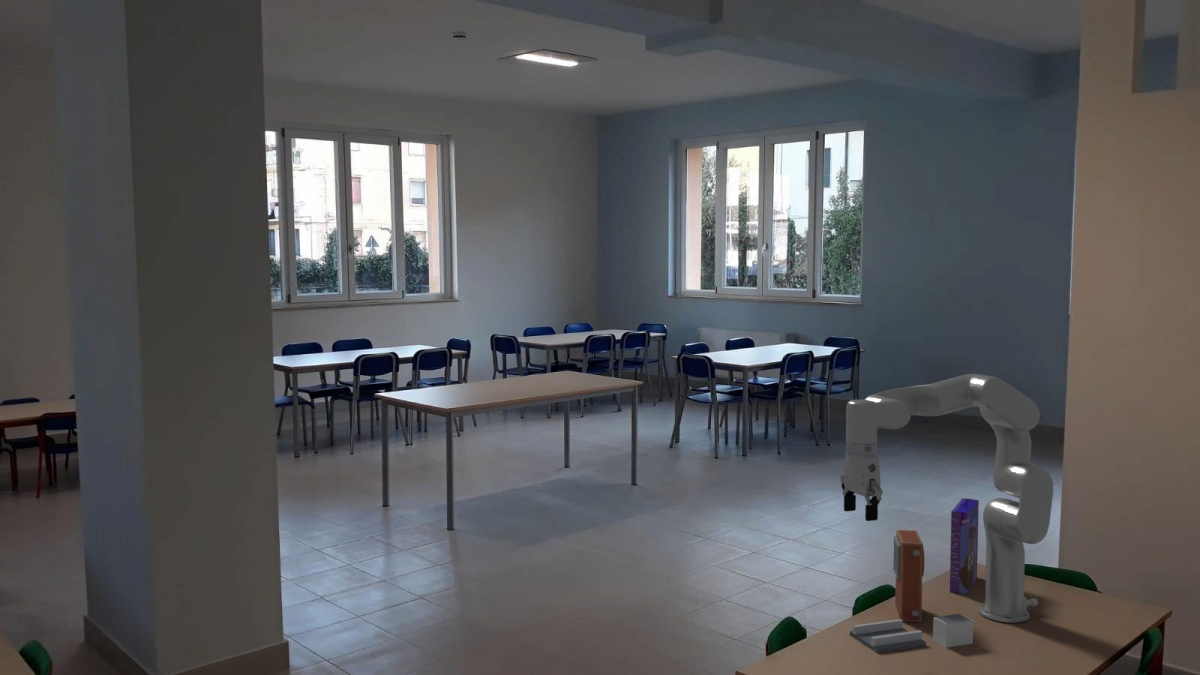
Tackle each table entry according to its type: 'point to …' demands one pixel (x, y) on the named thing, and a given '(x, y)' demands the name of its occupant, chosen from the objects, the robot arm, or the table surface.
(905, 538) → the orange upright battery pack
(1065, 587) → the table surface
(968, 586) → the cereal box
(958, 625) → the block
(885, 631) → the grey rail base plate
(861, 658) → the table surface
